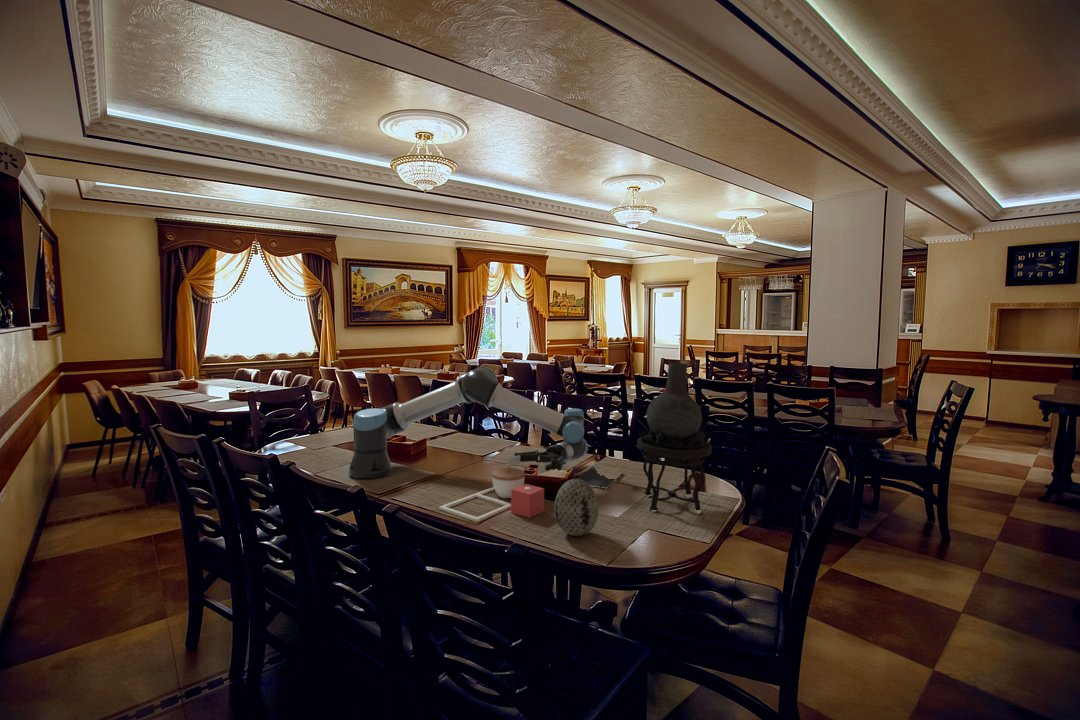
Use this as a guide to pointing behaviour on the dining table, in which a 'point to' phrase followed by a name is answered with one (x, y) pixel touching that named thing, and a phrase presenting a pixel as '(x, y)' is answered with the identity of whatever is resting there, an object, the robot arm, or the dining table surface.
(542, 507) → the die
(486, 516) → the white rectangular frame
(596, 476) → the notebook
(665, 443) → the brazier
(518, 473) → the lidded jar
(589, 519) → the decorative egg
